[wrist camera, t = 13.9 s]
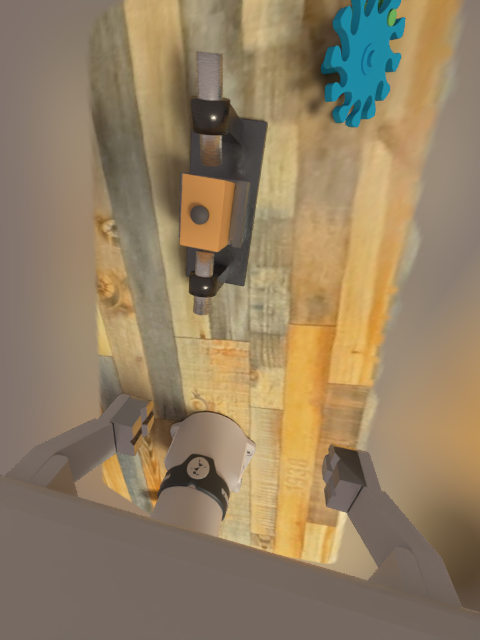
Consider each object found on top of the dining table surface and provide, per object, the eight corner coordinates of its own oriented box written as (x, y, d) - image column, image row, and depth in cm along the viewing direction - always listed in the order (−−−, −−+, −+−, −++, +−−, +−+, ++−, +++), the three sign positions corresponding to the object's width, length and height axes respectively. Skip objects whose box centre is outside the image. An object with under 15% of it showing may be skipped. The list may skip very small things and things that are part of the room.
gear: (366, 147, 28) (318, 84, 21) (324, 144, 32) (273, 90, 25) (429, 22, 25) (397, -101, 18) (374, 36, 28) (330, -61, 22)
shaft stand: (242, 299, 40) (227, 330, 31) (188, 289, 41) (157, 316, 32) (272, 95, 29) (263, 44, 19) (196, 87, 30) (151, 34, 20)
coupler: (198, 177, 30) (179, 172, 25) (235, 183, 29) (223, 179, 24) (194, 238, 33) (176, 245, 28) (227, 244, 33) (215, 253, 27)
